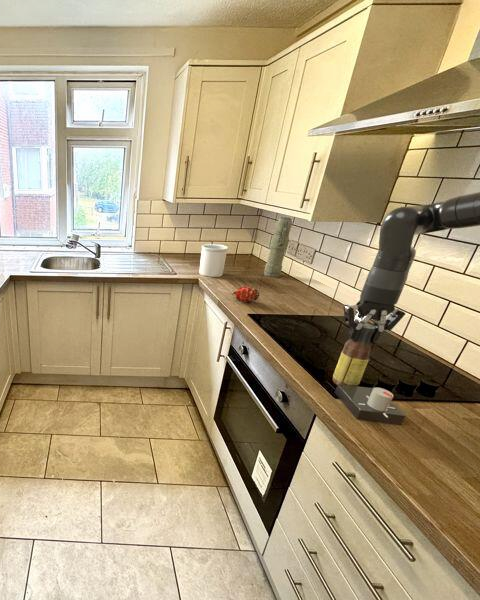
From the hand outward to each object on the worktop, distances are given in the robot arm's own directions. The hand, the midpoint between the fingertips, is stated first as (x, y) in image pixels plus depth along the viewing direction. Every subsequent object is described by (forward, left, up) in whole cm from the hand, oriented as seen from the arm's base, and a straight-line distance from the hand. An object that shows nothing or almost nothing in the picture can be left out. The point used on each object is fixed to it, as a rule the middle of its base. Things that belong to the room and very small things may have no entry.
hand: (361, 340), depth 90 cm
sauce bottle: (0, 0, -15) cm, 15 cm away
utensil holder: (+21, -109, -16) cm, 112 cm away
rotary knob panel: (0, +10, -15) cm, 19 cm away
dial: (0, +13, -12) cm, 18 cm away
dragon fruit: (+12, -65, -15) cm, 68 cm away
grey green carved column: (-16, -114, -15) cm, 116 cm away
